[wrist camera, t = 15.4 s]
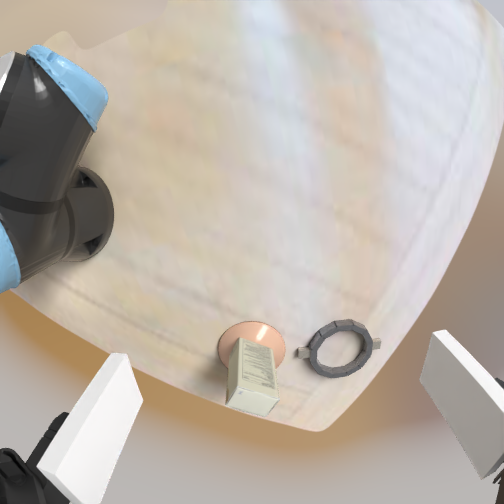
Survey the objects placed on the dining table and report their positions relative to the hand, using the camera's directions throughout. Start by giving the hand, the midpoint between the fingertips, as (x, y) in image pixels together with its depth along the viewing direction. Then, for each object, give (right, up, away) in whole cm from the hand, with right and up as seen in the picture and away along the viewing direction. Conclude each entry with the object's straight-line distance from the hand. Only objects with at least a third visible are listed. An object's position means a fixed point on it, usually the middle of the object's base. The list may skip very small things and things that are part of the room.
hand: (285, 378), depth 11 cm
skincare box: (-1, -11, +36) cm, 37 cm away
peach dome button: (-1, -11, +36) cm, 38 cm away
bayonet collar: (+14, -11, +36) cm, 40 cm away
